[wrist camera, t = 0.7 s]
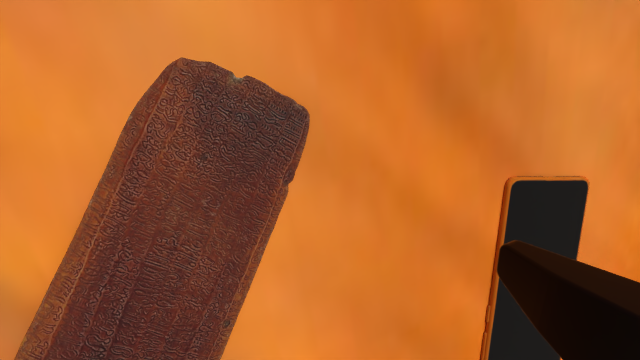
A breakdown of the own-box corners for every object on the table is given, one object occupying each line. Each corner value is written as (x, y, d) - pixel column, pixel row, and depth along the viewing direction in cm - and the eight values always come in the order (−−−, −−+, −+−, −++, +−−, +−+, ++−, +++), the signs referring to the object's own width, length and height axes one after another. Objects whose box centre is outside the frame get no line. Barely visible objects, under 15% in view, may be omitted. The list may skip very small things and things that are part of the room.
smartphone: (583, 175, 33) (594, 177, 32) (549, 376, 36) (558, 383, 35) (500, 175, 30) (510, 177, 29) (471, 392, 33) (479, 399, 32)
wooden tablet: (143, 512, 27) (141, 538, 25) (-45, 491, 23) (-61, 520, 22) (331, 119, 26) (342, 121, 24) (166, 31, 22) (165, 27, 20)
